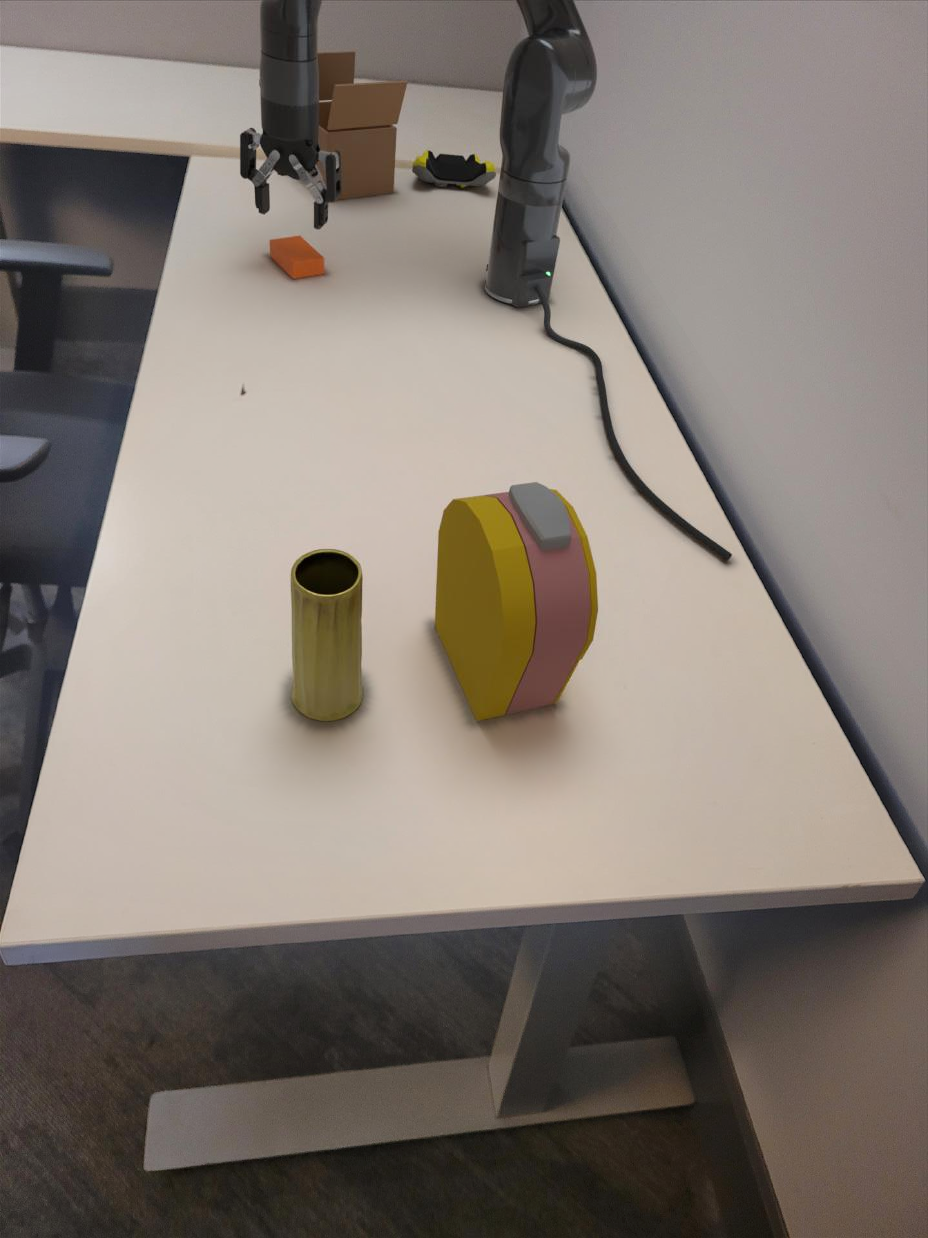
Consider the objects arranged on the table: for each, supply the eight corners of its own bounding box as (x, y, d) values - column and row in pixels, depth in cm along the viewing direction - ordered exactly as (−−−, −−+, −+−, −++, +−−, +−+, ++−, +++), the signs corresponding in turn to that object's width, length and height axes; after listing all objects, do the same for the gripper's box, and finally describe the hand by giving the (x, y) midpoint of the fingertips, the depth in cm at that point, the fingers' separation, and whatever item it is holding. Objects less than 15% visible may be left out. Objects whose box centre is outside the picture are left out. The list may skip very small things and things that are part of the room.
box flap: (396, 122, 143) (397, 124, 143) (327, 128, 137) (328, 129, 137) (406, 80, 137) (407, 81, 137) (334, 84, 131) (335, 85, 131)
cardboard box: (393, 192, 151) (399, 77, 138) (327, 200, 145) (327, 81, 132) (351, 160, 159) (353, 49, 147) (287, 167, 154) (283, 52, 141)
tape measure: (572, 717, 74) (624, 561, 60) (483, 737, 71) (518, 579, 58) (508, 598, 83) (542, 440, 70) (428, 612, 80) (448, 451, 67)
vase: (362, 665, 75) (366, 544, 65) (365, 721, 71) (370, 601, 61) (291, 667, 74) (285, 543, 64) (290, 723, 70) (283, 601, 60)
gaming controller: (494, 198, 155) (487, 177, 161) (498, 165, 151) (491, 145, 157) (412, 191, 152) (409, 171, 159) (414, 158, 148) (410, 138, 155)
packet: (324, 273, 126) (324, 257, 124) (293, 279, 124) (292, 262, 122) (300, 251, 131) (300, 235, 129) (270, 256, 128) (269, 239, 127)
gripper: (352, 98, 112) (347, 223, 124) (253, 72, 114) (258, 198, 125) (328, 113, 107) (326, 242, 119) (225, 86, 109) (233, 216, 120)
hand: (291, 219), depth 122 cm, fingers open, 8 cm apart
